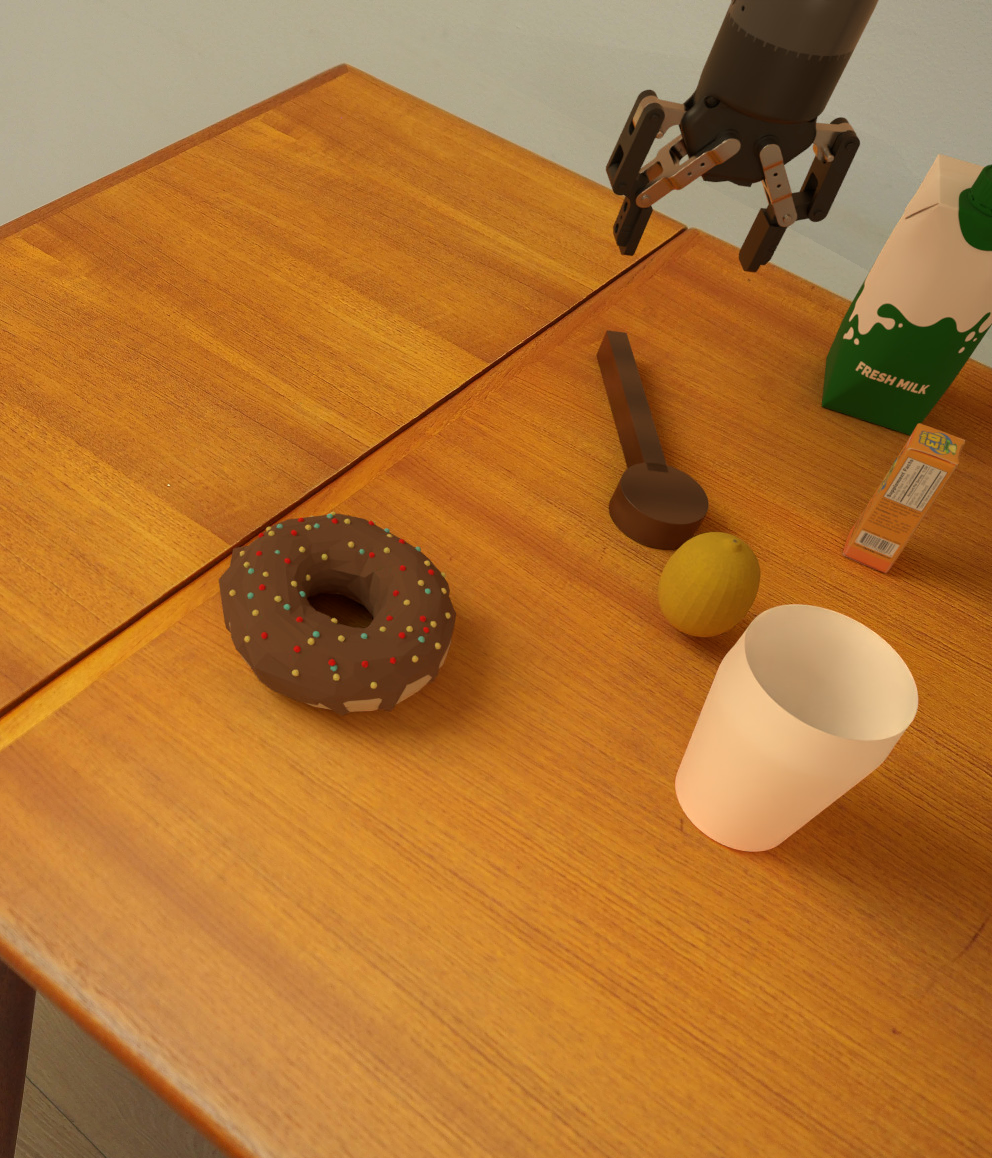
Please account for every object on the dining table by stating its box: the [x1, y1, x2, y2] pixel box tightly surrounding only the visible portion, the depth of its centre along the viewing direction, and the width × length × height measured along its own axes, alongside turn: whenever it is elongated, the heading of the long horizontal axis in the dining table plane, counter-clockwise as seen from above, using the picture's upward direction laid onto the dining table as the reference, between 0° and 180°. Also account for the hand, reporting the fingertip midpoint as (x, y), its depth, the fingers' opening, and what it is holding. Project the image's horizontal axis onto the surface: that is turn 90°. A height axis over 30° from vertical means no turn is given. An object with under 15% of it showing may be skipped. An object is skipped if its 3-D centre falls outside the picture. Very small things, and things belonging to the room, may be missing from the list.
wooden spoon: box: [596, 330, 710, 550], centre depth 94 cm, size 21×6×2 cm, turn 178°
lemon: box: [657, 531, 762, 638], centre depth 80 cm, size 6×6×8 cm
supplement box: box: [841, 423, 966, 574], centre depth 87 cm, size 3×3×10 cm
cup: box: [674, 603, 919, 853], centre depth 70 cm, size 9×9×12 cm
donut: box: [218, 511, 457, 717], centre depth 77 cm, size 14×14×5 cm
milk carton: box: [821, 153, 992, 436], centre depth 96 cm, size 9×9×20 cm
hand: (685, 257), depth 88 cm, fingers open, 8 cm apart
